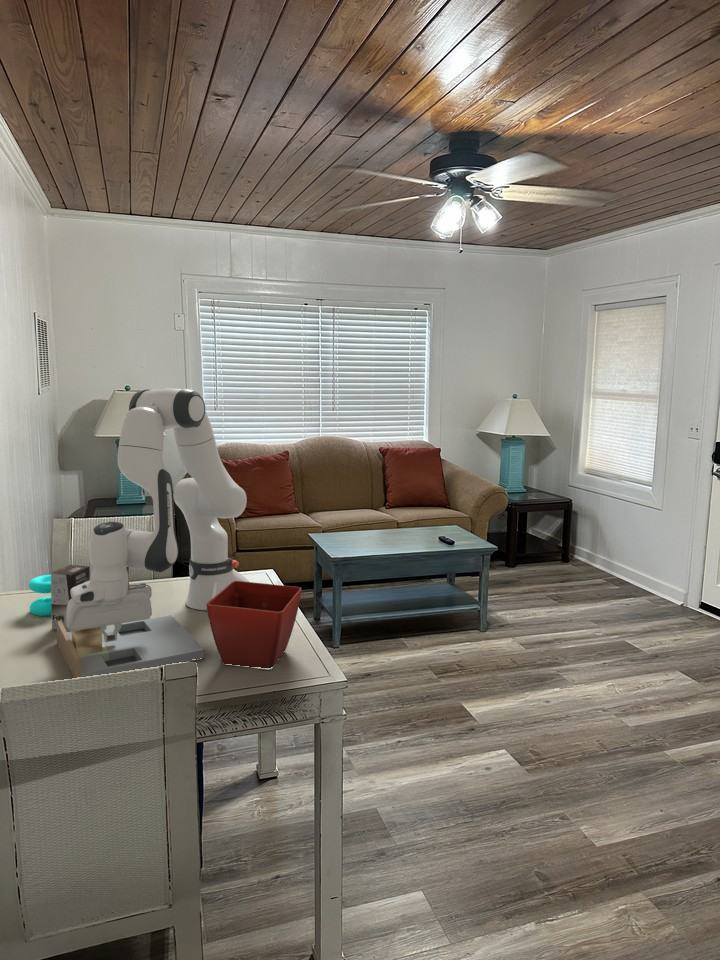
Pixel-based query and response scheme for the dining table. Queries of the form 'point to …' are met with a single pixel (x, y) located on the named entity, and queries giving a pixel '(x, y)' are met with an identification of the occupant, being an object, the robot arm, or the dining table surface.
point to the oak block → (87, 640)
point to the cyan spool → (43, 604)
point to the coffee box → (65, 589)
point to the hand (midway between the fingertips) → (110, 640)
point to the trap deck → (132, 647)
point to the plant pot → (253, 622)
